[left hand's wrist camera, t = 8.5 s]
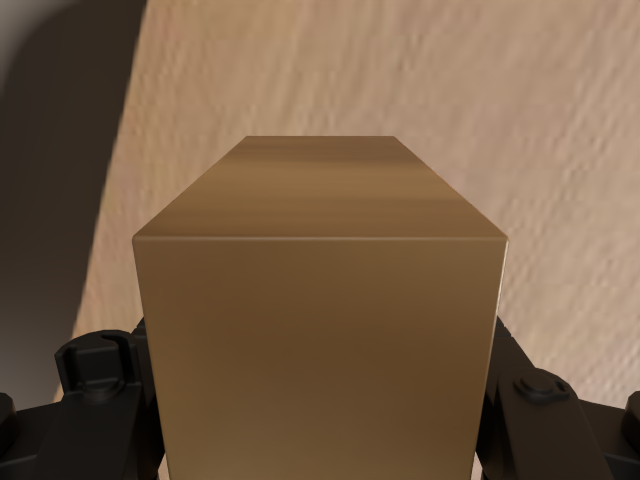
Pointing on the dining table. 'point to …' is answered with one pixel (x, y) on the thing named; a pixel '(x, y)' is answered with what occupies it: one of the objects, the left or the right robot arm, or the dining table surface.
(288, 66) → the dining table surface
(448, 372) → the bar
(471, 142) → the dining table surface
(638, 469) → the left robot arm
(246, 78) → the dining table surface
